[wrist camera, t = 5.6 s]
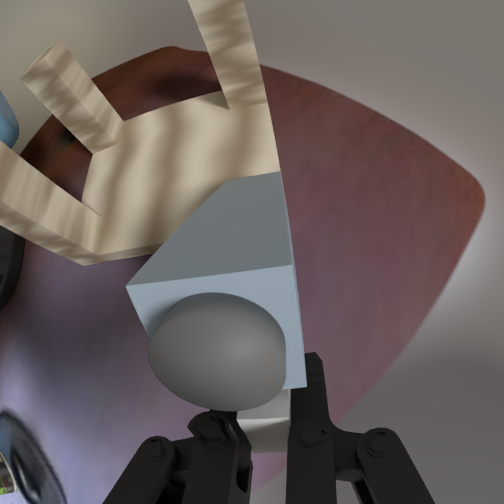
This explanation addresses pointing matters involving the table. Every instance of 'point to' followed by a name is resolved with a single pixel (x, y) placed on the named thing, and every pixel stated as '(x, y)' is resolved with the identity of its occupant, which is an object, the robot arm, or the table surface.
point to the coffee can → (6, 477)
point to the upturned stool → (142, 150)
